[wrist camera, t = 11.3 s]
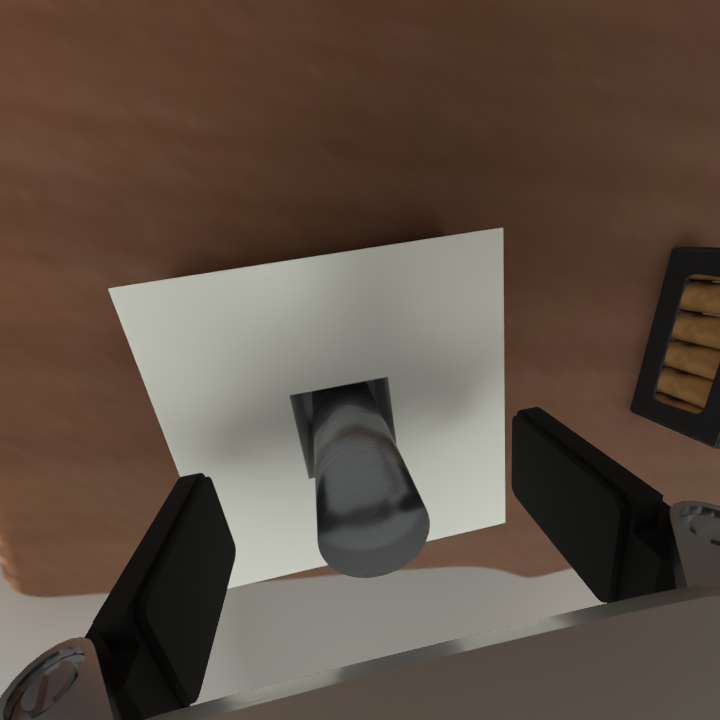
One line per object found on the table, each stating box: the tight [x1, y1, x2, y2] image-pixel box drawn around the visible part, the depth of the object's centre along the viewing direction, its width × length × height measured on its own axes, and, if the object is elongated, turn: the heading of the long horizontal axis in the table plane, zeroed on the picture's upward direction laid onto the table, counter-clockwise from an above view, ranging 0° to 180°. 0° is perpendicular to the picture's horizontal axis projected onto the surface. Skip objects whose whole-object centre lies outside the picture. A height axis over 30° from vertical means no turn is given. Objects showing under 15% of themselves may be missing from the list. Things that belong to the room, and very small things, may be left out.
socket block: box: [108, 228, 505, 589], centre depth 16 cm, size 14×14×6 cm
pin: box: [312, 381, 430, 578], centre depth 13 cm, size 3×3×10 cm
